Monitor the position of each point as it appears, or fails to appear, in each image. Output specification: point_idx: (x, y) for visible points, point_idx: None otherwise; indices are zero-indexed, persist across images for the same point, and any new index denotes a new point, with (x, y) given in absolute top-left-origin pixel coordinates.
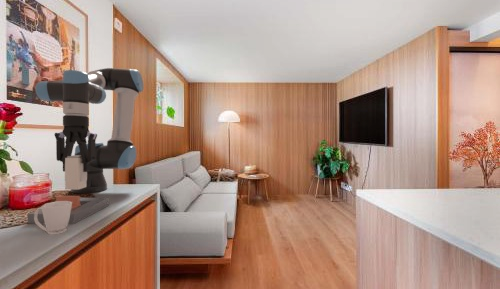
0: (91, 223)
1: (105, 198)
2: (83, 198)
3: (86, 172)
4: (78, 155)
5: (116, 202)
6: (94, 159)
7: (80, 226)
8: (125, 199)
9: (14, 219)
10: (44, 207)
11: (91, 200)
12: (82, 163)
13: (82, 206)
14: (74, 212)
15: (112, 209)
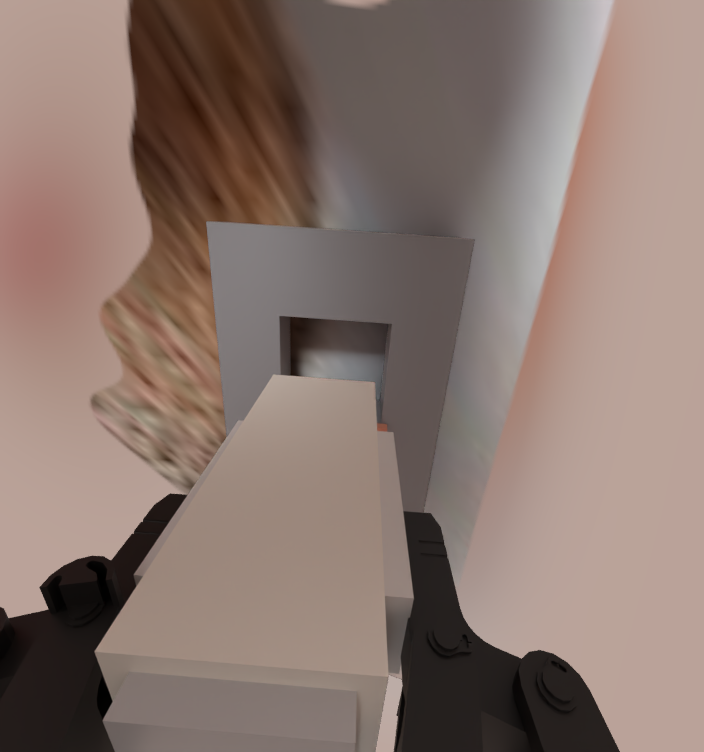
0: (478, 497)
1: (459, 256)
2: (305, 254)
3: (398, 492)
4: (218, 740)
5: (491, 149)
6: (578, 694)
7: (451, 519)
8: (542, 37)
9: (156, 443)
10: (388, 673)
11: (386, 309)
12: (398, 665)
13: (398, 428)
14: (410, 507)
15: (509, 322)
